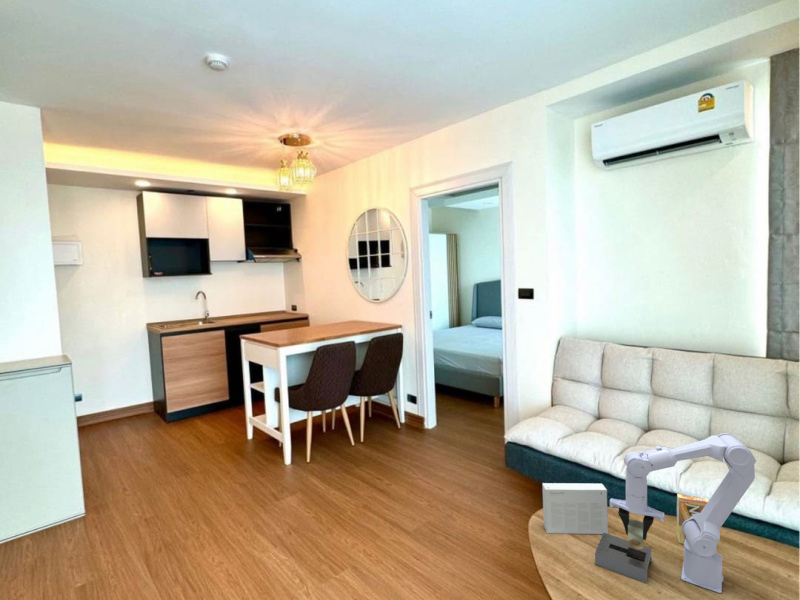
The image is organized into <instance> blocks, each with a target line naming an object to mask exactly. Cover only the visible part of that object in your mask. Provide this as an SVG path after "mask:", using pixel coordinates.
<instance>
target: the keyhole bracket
mask: <svg viewBox="0 0 800 600" xmlns="http://www.w3.org/2000/svg"><path fill="white" fill-rule="evenodd" d="M652 551H653V548H652V547H649V546H647V545H644V549H643V550H641V551H638V550H634V549H632V548H631V547H630V546H629V540H627V539H624V538H621V537H618V536H616V535H612V534H609V533H608V534H606V533H603V534H601V538H600V540H599V542H598V544H597V547H596V549H595V552H594V565H595V566H598V567H600V566H601V567H600V568H603V569H606V570H609V571H612V572H614V573H617V574H619V575H623V576H625V577H628V578H630V579H633V580H636V581H639V582H642V583H643V584H647V583H648V569H649V564H652V560H653V556H652V555H653V552H652Z"/></svg>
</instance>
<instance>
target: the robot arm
mask: <svg viewBox="0 0 800 600" xmlns="http://www.w3.org/2000/svg"><path fill="white" fill-rule="evenodd" d="M704 457H709V458H712V459H715V460H716V461H719V462H725V465H726V467H727V468H728V472H726V475H725V476H724V478H723V479H722V481H721V482H720V483H719V485H718V486H717V488H716V490H715V491H714V492H713V493H712V495H711V496H710V498H709V499H708V500H709V501H708V502H707V504H706V505H705V507H704V508H703V510H702V511H701V513H697V514H693V516H692V517H691V518H690V519H688V520H686V521H684V522H683V524H682V530H683V532H684V534H685V535H686V540H685V541H684V544H683V563H682V568H681V576H680V577H681V578H680V579H681V580H682V581H684V582H687V583H689V584H692V585H695V586H698V587H701V588H704V589H707V590H709V591H713V592H715V593H717V594H718V593H719V594H722V592H723V591H722V590H723V588H722V587H723V582H724V575H723V555H722V554H720V553H718V552H717V551H718V544H719V542H720V540H721V528H722V526H723V525H724V523H725V522H726V520H727V519H728V517H730V515H731V513H732V512H733V511H734V509H735V508H736V506H737V505H738V504H739V502H740V501H741V499H742V498H743V497H744V495H745V494H746V492H748V490H749V488H750V486H751V485H752V483H753V482H754V481H755V478H756V473H755V472H756V471H755V464H756V463H757V459H756V458H755V456H754V454H753V453H752V451H751V449H750V448H748V447H746V446H745V445H744V444H743V443H742V442H741V441H740V440H739V439H738V438H737V437H736V436H735V435H733V434H731V433H726V432H723V433H719V434H718V435H713V434H712V435H710V436H709V437H707V438H704V439H702V440H698V441H695V442H692V443H688V444H685V445H682V446H677V447H675V448H669V447H667V446H662V447H661V445H657V446H655V448H653V449H649V450H645V451H643V450H639V451H630V452H627V454H626V455H624V458H623V462H624V464H625V466H626V467H625V469H626V471H625V499H617V498H610V499H609V508H611V509H612V508H617V509H618V512H617V513H618V516H619V518H620V519H621V521H622V524H623V527H624V530H625V534H626V535H627V536H628V523H629V521H630V513H632V514H634V515H638V516H639V515H640V516H643V519H642V522H643V529H644V531H643V541H646V540H647V538H648V537H647V536H648V531H649V530H650V528H651V527H652V526H653V523H654V519H656V520H659V522H662V523H664V522H665V512H663V511H659V510H657V509H656V508H653V507H651V506H649V505H648V478H647V477H648V475H649V474H650V473H652V472H655V471H659V470H660V471H661V470H664V469H667V468H673V467H675V466H676V464H677V462H680V461H685V460H692V459H699V458H704Z"/></svg>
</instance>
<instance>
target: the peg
mask: <svg viewBox="0 0 800 600" xmlns="http://www.w3.org/2000/svg"><path fill="white" fill-rule="evenodd" d="M643 531H644V529H643V521H639V520H636V519H633V518H629V523H628V535H627V538H628V539H629V540H628V541H629V546H630V547H631V548H632V549H634V550H638V551H641V550H643V549H644V546H645V544H644V540H643Z"/></svg>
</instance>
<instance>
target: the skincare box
mask: <svg viewBox="0 0 800 600" xmlns="http://www.w3.org/2000/svg"><path fill="white" fill-rule="evenodd" d="M542 512H543V513H542V515H543V518H542V519H543V527H544V529H545V532H546V534H567V535H569V534H575V535H576V534H577V535H579V534H580V535H582V534H583V535H603V533H606V534H609V525H608V521H609V520H608V517H609V513H608V489H607V488H606V487H605V485H604V484H603V483H588V482H587V483H579V482H578V483H577V482H575V483H574V482H573V483H570V482H569V483H566V482H565V483H564V482H561V483H560V482H559V483H557V482H553V483H552V482H551V483H550V482H548V483H547V482H542Z"/></svg>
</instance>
